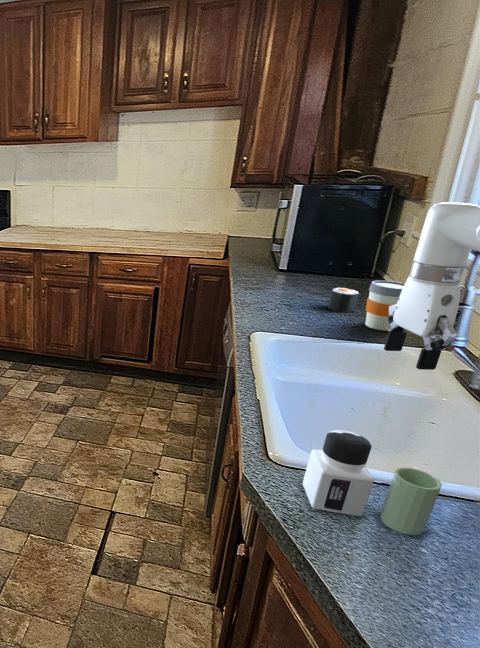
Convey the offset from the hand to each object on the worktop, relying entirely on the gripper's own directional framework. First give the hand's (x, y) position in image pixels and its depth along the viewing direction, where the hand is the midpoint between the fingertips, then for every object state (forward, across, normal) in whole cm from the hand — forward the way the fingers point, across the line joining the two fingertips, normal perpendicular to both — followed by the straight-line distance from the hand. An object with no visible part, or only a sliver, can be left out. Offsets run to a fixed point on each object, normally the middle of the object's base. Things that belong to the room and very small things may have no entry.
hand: (408, 359), depth 103 cm
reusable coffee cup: (+20, +83, -49) cm, 98 cm away
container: (+20, -19, +20) cm, 34 cm away
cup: (+20, -25, +11) cm, 34 cm away
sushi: (+19, +104, -46) cm, 116 cm away
